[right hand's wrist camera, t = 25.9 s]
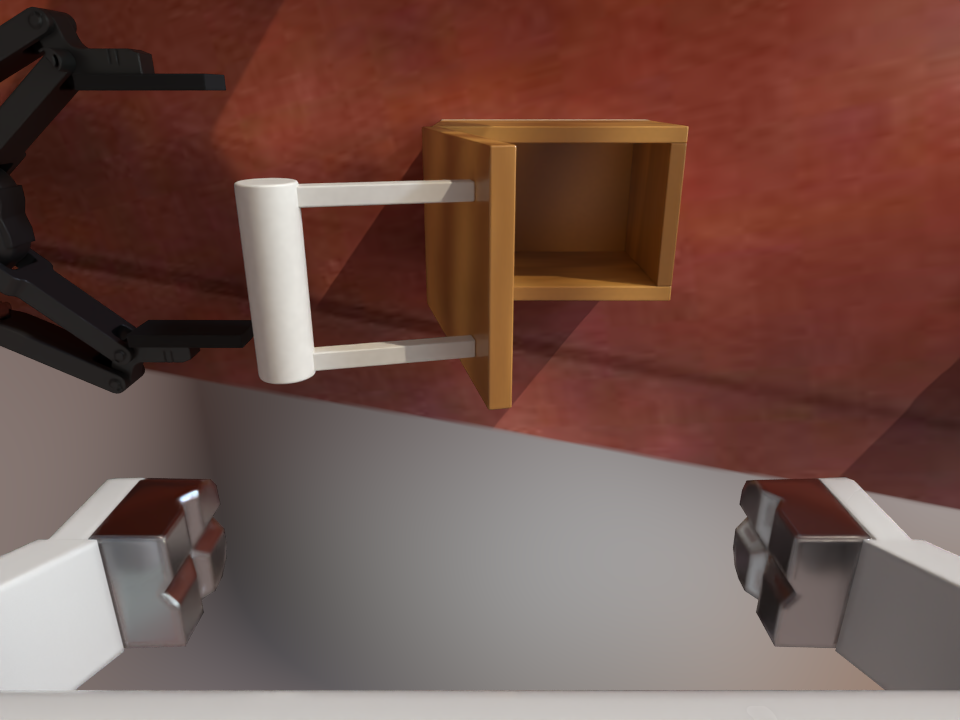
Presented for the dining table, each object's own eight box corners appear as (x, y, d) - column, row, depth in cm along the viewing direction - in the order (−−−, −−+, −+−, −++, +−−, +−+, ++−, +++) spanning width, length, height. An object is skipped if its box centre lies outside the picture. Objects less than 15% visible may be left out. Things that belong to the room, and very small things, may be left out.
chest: (645, 119, 44) (689, 126, 34) (633, 260, 47) (670, 301, 38) (441, 119, 44) (430, 125, 34) (444, 260, 47) (435, 301, 38)
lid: (517, 144, 21) (219, 149, 19) (512, 408, 25) (258, 435, 23) (439, 126, 34) (254, 128, 32) (443, 302, 37) (276, 314, 35)
